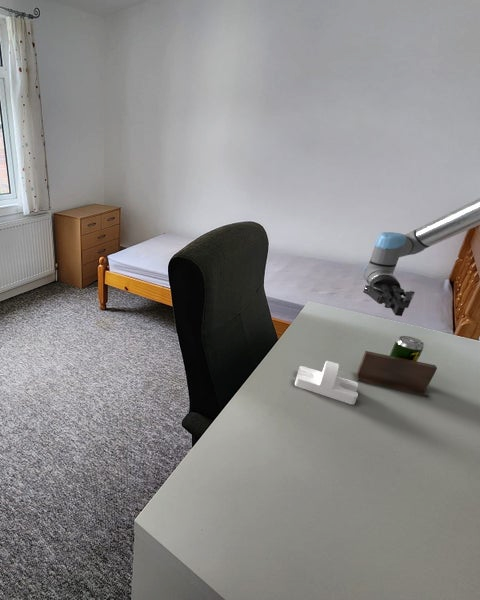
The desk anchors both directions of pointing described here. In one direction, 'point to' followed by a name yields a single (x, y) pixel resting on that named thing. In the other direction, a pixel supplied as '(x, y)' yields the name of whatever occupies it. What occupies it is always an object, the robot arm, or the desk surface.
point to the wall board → (395, 373)
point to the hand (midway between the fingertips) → (400, 311)
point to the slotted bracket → (327, 383)
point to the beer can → (407, 348)
